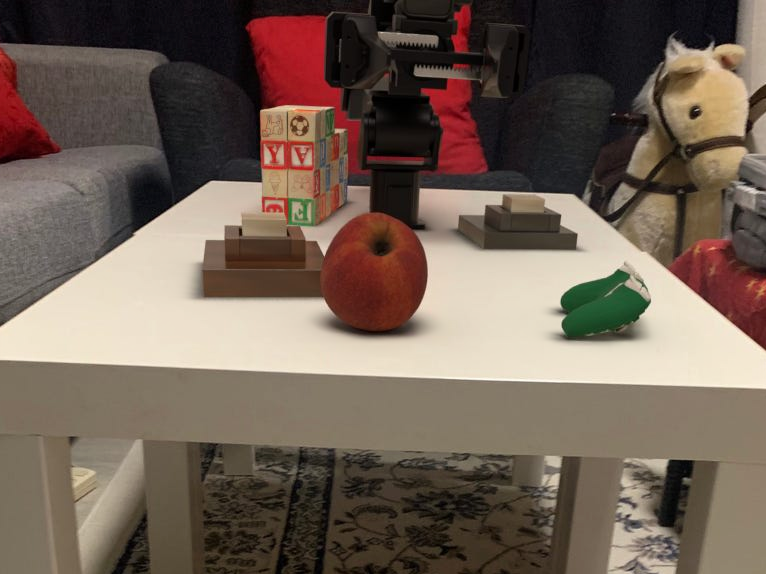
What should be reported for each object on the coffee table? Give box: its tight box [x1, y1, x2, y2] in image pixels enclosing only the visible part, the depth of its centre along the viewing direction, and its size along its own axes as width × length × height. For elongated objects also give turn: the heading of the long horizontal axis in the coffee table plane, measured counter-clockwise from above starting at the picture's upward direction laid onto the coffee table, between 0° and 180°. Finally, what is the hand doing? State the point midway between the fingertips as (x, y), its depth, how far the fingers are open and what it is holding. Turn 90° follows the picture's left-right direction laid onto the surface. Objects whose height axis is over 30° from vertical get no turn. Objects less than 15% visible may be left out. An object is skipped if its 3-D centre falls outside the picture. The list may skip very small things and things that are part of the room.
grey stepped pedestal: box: [457, 204, 579, 251], centre depth 102 cm, size 12×10×4 cm
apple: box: [320, 212, 429, 332], centre depth 65 cm, size 7×8×8 cm
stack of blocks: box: [259, 104, 349, 227], centre depth 114 cm, size 21×6×12 cm, turn 172°
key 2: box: [501, 193, 546, 213], centre depth 99 cm, size 4×4×2 cm
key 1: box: [240, 211, 288, 236], centre depth 78 cm, size 4×4×2 cm
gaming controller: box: [559, 259, 652, 339], centre depth 68 cm, size 9×4×6 cm
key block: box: [201, 224, 325, 298], centre depth 79 cm, size 13×10×4 cm
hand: (442, 63), depth 79 cm, fingers open, 9 cm apart
